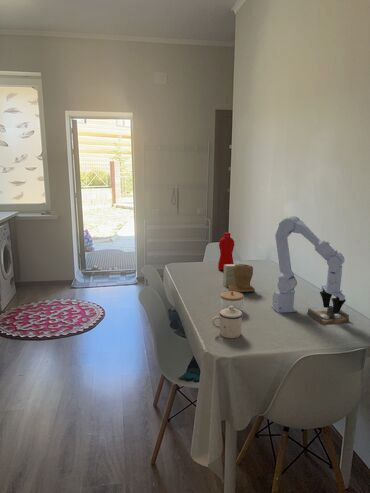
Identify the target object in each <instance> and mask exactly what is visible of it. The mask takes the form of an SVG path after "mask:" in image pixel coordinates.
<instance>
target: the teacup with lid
mask: <svg viewBox="0 0 370 493" xmlns="http://www.w3.org/2000/svg"><path fill="white" fill-rule="evenodd" d="M242 318H243V312H242V311H241V309H239V310H237V309H235V308H234V307H233V306H229V308H226V309H223V308H222V309H221V310H220V312H219V315H216V316H213V317H212V319H211V323H212V326H213V327H214V328H215V329H218V330H219V334H220V335H221V337H224V338H226V339H236V338H239V337H241V335H242V321H243V319H242ZM217 319H219V325H216V323H215V320H217Z"/></svg>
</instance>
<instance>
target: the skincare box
mask: <svg viewBox="0 0 370 493" xmlns="http://www.w3.org/2000/svg"><path fill="white" fill-rule="evenodd" d="M235 265H236V264H226V265H224V271H223V274H222V275H223V277H222V279H223V280H222V281H223V282H222V285H223V286H224V287H226V288H229V285H233V284H234V283H235V277H234V266H235Z"/></svg>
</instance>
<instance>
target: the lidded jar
mask: <svg viewBox="0 0 370 493" xmlns="http://www.w3.org/2000/svg"><path fill="white" fill-rule="evenodd" d="M243 302H244V293H242V292H234V291H229V290H226V291H223V292H221V293H220V305H221V307H222V310H223V309H226V308H229V306H233V307H234V308H235V309H237V310H241V308H242V306H243Z"/></svg>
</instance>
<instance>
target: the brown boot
mask: <svg viewBox="0 0 370 493" xmlns="http://www.w3.org/2000/svg"><path fill="white" fill-rule="evenodd" d="M234 265H235V266H234V277H235V283H234V284H233V285H229V287H228V291H234V292H239V293H249V292H250V293H251V292H252V293H253V292H255V291H256V288H255V287H254V286H251V280H252V278H253V276H254V267H253V266H252V265H251V264H244V263H236V264H234Z"/></svg>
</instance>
